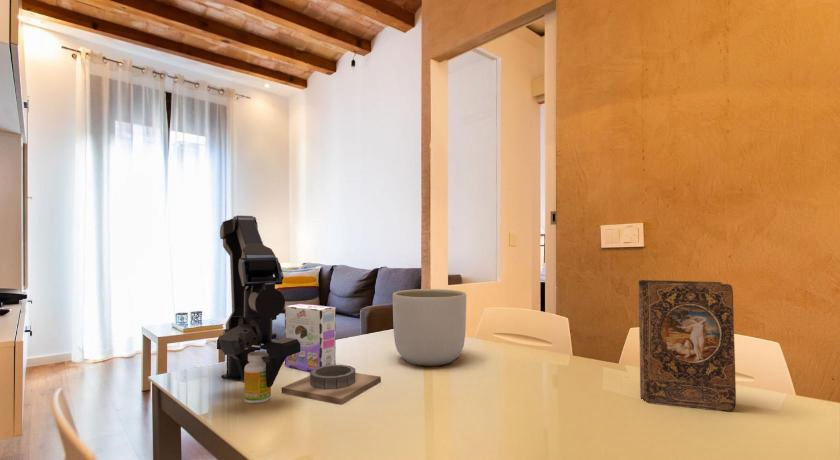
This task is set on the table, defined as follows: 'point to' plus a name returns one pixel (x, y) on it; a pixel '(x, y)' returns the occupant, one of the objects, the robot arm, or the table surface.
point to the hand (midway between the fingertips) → (257, 384)
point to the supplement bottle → (256, 379)
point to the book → (687, 344)
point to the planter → (429, 325)
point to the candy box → (311, 335)
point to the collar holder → (332, 384)
